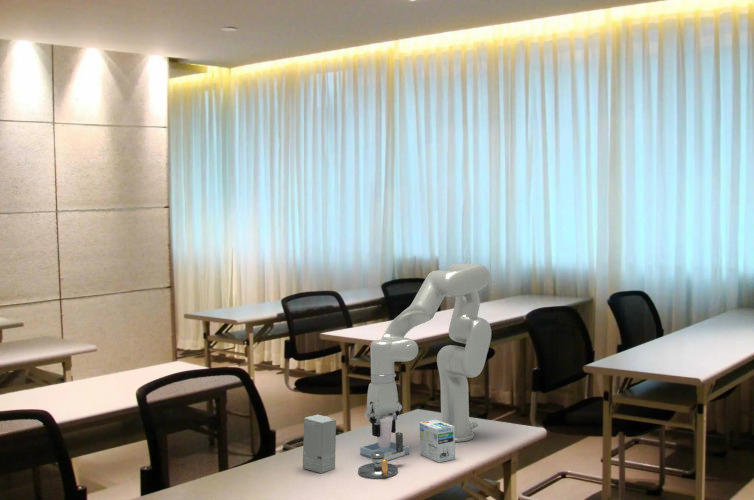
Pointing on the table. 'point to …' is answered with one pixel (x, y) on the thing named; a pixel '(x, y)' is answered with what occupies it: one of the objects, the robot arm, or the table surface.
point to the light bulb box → (437, 440)
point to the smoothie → (385, 430)
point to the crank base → (378, 470)
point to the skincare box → (319, 443)
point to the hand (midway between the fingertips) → (384, 433)
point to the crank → (399, 452)
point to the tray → (381, 449)
